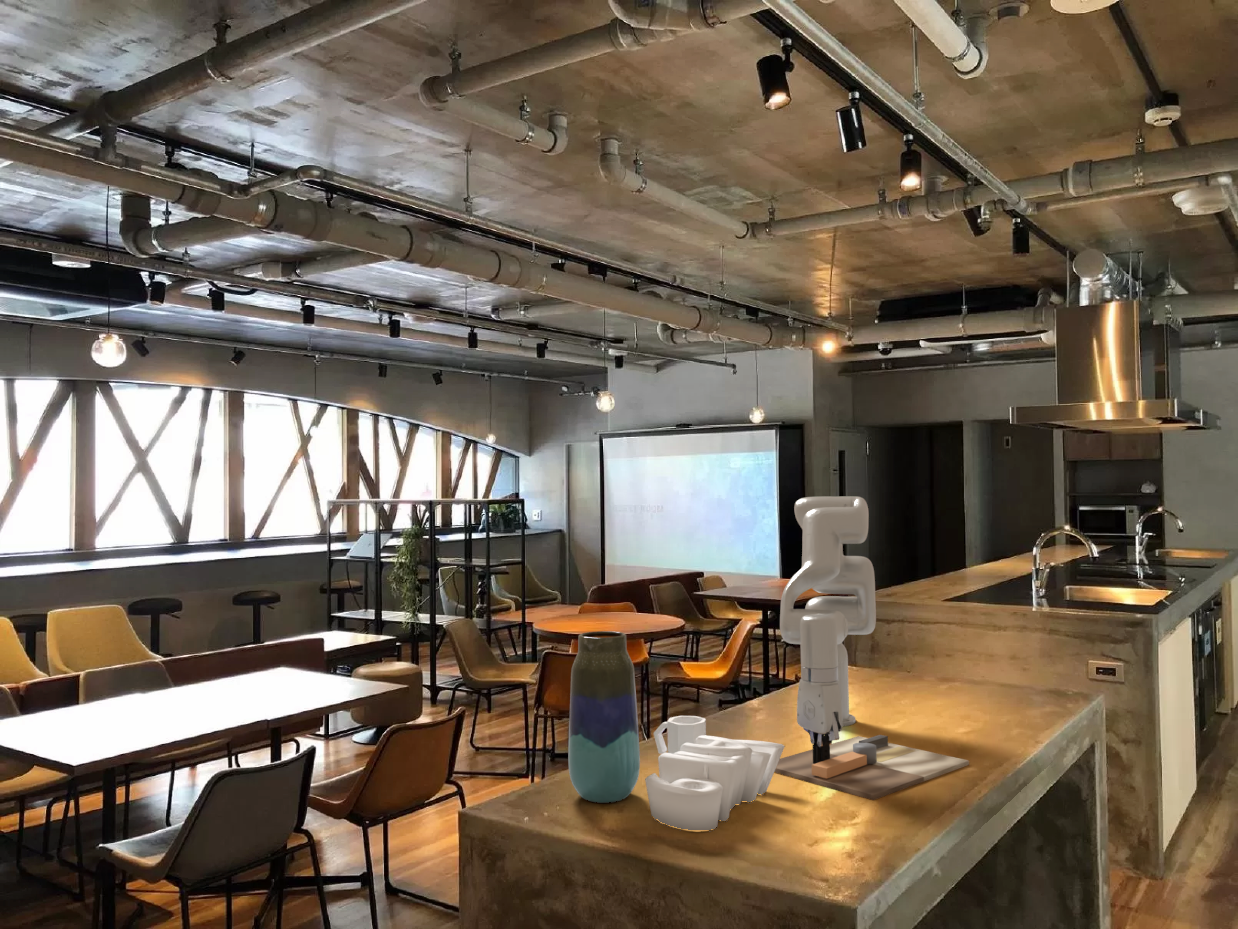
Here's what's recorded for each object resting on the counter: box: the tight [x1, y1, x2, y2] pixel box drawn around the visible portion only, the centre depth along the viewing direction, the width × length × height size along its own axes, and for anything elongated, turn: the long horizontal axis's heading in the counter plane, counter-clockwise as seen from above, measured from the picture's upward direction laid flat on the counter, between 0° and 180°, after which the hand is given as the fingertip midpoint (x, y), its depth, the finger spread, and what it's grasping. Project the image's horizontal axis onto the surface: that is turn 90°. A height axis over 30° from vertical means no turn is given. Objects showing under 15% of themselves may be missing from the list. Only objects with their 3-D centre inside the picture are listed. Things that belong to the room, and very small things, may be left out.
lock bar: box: [812, 743, 877, 779], centre depth 196 cm, size 18×5×3 cm, turn 132°
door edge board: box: [774, 734, 970, 801], centre depth 200 cm, size 28×34×3 cm
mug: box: [653, 715, 707, 755], centre depth 204 cm, size 12×9×10 cm
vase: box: [567, 630, 641, 804], centre depth 184 cm, size 14×14×31 cm
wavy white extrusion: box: [644, 734, 786, 830], centre depth 177 cm, size 35×16×10 cm, turn 145°
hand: (821, 763), depth 196 cm, fingers closed
